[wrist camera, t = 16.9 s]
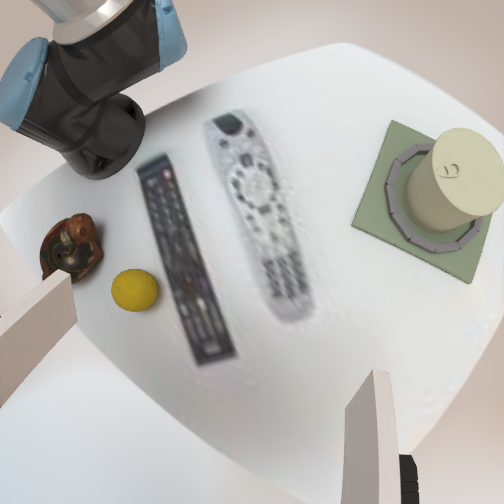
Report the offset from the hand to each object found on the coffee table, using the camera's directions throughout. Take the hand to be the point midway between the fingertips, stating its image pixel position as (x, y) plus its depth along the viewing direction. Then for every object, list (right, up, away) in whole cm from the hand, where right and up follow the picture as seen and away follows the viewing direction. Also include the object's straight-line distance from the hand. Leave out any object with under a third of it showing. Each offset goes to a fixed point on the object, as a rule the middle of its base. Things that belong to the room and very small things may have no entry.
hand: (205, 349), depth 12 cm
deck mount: (+26, +11, +24) cm, 37 cm away
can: (+25, +11, +24) cm, 36 cm away
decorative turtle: (-25, +3, +34) cm, 43 cm away
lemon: (-12, -2, +31) cm, 34 cm away
